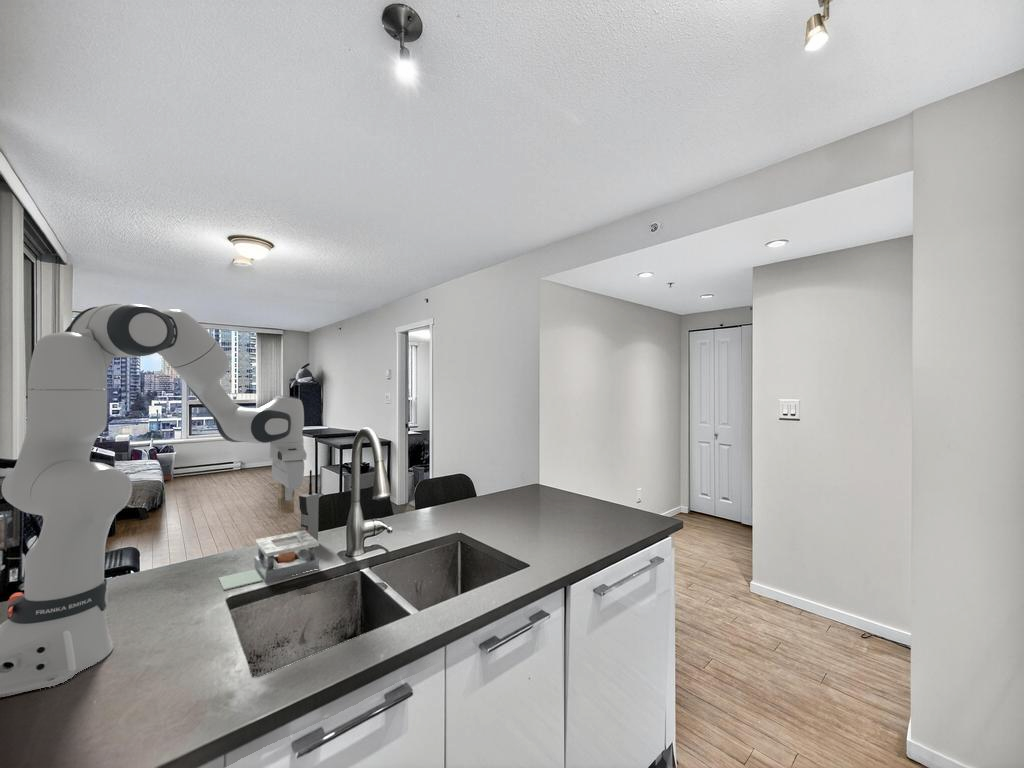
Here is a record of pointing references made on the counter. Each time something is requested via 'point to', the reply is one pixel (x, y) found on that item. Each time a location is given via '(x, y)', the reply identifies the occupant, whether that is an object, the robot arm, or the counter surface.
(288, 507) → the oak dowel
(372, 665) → the counter surface
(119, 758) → the counter surface
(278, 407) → the robot arm
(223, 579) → the sage mat
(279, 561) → the breaker button
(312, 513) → the vintage mobile phone
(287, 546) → the grey box with top
